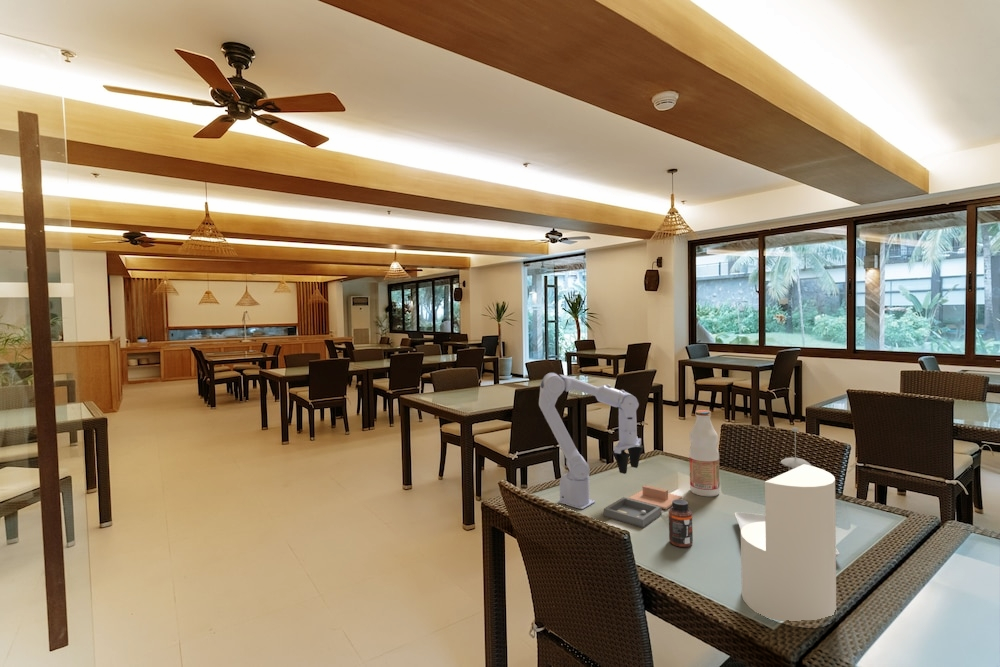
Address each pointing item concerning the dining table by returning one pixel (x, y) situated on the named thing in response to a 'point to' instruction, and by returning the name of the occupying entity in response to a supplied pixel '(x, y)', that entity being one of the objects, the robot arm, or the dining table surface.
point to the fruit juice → (704, 456)
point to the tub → (632, 512)
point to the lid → (655, 496)
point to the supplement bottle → (680, 524)
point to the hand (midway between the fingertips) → (628, 470)
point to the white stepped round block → (792, 548)
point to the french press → (794, 461)
